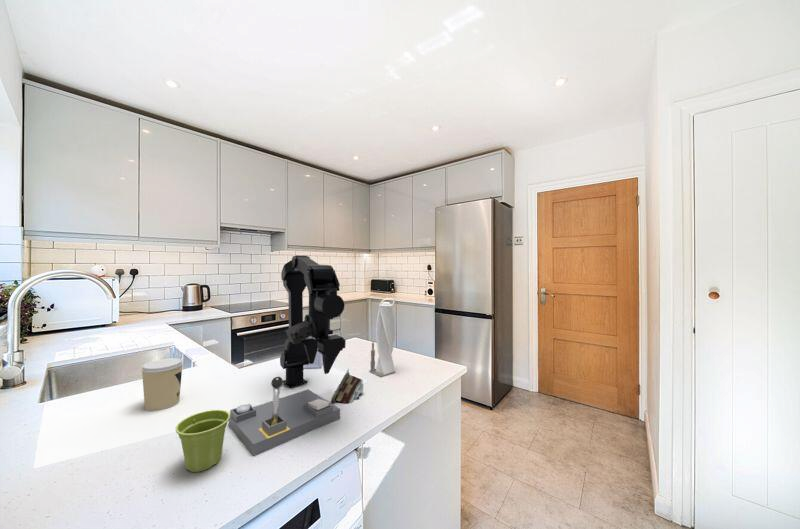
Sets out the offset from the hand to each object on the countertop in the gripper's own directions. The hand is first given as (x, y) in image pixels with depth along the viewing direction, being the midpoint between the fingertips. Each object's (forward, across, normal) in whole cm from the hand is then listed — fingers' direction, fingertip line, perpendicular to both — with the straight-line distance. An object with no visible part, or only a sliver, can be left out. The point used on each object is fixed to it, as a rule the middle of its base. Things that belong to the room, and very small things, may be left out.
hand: (318, 368), depth 81 cm
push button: (+10, -6, -17) cm, 21 cm away
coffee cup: (+13, -33, -32) cm, 48 cm away
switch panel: (+12, -2, -8) cm, 15 cm away
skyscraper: (+13, -13, +33) cm, 38 cm away
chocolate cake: (+13, -4, +12) cm, 18 cm away
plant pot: (+13, +4, -27) cm, 30 cm away
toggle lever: (+9, +5, -13) cm, 17 cm away
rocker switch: (+8, +3, -1) cm, 9 cm away
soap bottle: (+13, -36, +14) cm, 41 cm away
